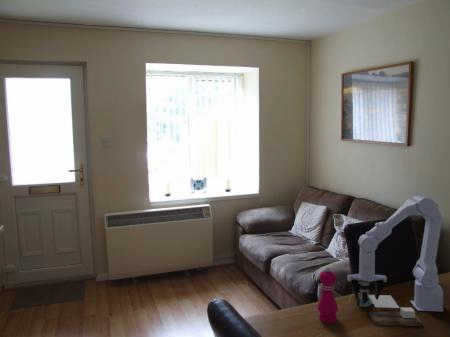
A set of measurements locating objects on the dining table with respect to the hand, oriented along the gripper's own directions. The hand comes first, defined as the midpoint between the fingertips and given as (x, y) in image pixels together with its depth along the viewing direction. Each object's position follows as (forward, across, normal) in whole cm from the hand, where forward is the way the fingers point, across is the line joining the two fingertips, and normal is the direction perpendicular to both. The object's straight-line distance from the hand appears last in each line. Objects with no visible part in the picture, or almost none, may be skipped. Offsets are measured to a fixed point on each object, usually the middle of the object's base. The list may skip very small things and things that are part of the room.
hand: (366, 298), depth 150 cm
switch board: (+3, +7, -12) cm, 14 cm away
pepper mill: (+3, -17, -12) cm, 21 cm away
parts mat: (+3, +8, +4) cm, 9 cm away
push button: (+3, 0, 0) cm, 3 cm away
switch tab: (+1, +11, -12) cm, 16 cm away
